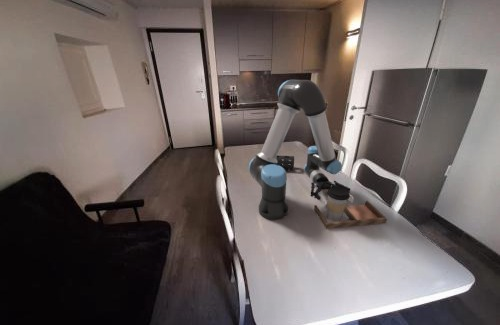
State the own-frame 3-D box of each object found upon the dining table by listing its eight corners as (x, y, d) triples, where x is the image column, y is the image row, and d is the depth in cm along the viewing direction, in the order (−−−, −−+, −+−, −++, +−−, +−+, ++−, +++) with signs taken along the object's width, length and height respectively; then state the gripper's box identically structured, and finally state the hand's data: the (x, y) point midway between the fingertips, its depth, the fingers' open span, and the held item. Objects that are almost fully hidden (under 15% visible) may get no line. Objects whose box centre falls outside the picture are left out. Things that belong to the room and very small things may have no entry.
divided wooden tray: (325, 228, 88) (326, 224, 87) (313, 209, 101) (314, 205, 100) (385, 223, 90) (387, 218, 89) (366, 204, 102) (367, 200, 101)
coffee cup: (327, 208, 101) (331, 183, 95) (347, 215, 95) (352, 189, 89) (320, 218, 94) (324, 191, 88) (341, 226, 89) (346, 199, 82)
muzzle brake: (293, 172, 138) (294, 158, 134) (254, 170, 144) (253, 157, 140) (293, 166, 147) (294, 153, 143) (256, 164, 152) (256, 152, 148)
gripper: (339, 183, 113) (362, 205, 94) (297, 186, 111) (311, 210, 92) (341, 171, 110) (365, 192, 90) (297, 175, 108) (313, 197, 89)
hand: (338, 201), depth 91 cm, fingers open, 13 cm apart
